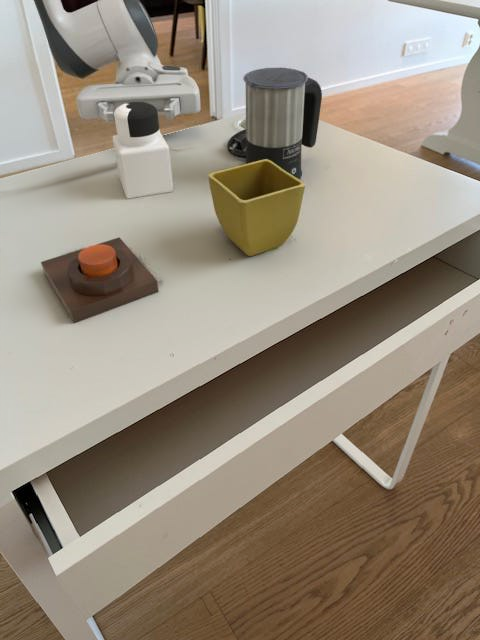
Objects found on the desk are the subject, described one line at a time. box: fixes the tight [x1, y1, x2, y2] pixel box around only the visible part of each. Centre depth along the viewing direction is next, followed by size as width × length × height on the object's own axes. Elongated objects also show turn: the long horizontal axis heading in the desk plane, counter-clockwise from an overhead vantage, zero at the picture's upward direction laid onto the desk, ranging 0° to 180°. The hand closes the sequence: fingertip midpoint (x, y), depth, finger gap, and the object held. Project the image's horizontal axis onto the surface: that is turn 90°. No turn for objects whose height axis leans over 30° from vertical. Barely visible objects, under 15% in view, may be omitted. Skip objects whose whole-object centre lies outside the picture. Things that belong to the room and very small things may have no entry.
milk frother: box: [226, 67, 323, 180], centre depth 79 cm, size 14×16×15 cm
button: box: [78, 243, 118, 277], centre depth 57 cm, size 4×4×2 cm
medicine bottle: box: [112, 102, 174, 199], centre depth 75 cm, size 7×7×12 cm
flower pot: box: [207, 159, 306, 257], centre depth 63 cm, size 9×9×9 cm
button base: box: [40, 237, 160, 324], centre depth 59 cm, size 11×10×4 cm
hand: (139, 116), depth 81 cm, fingers open, 8 cm apart
